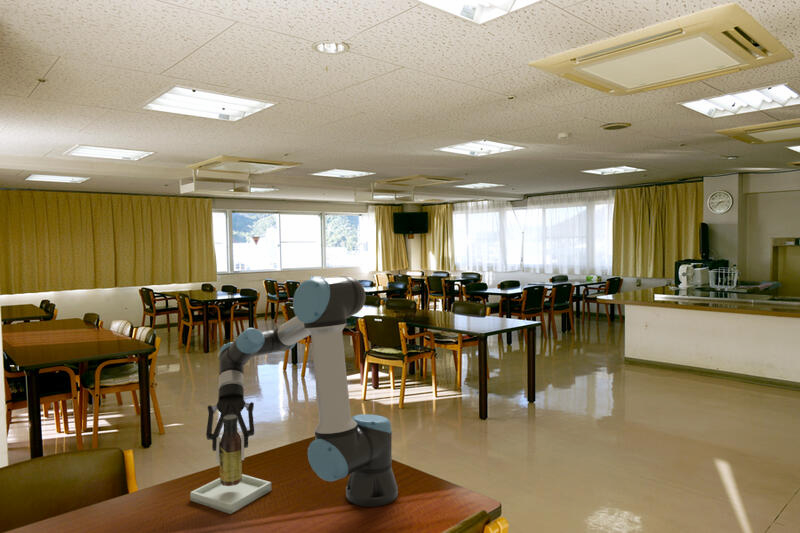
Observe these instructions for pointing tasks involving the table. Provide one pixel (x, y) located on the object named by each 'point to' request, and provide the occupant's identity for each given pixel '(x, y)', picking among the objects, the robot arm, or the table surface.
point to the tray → (230, 493)
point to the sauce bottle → (230, 453)
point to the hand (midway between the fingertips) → (230, 459)
